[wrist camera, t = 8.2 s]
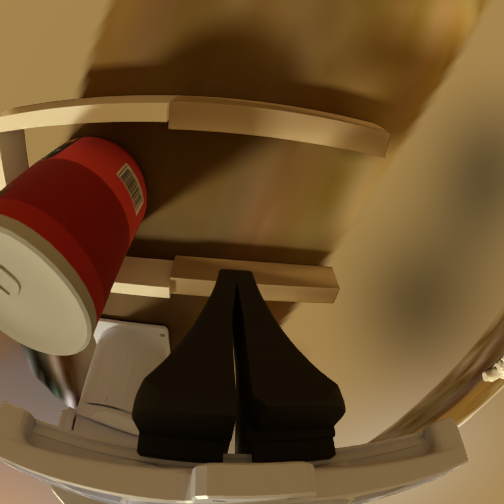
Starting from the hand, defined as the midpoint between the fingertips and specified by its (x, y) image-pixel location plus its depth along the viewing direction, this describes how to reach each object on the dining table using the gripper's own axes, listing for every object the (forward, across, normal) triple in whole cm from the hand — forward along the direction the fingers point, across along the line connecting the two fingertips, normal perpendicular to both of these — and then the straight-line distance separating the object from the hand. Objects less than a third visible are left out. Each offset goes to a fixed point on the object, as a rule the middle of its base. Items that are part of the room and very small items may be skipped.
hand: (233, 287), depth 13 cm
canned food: (+9, +10, 0) cm, 13 cm away
